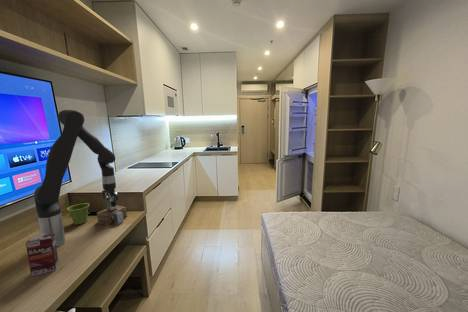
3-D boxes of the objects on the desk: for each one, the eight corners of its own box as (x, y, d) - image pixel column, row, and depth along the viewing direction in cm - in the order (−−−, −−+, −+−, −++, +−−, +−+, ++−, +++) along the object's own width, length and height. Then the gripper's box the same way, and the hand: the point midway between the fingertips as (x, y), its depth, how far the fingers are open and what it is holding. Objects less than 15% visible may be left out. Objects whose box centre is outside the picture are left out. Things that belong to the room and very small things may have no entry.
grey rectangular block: (118, 224, 132) (117, 214, 131) (114, 223, 134) (112, 213, 133) (123, 221, 136) (122, 212, 135) (119, 220, 138) (118, 211, 136)
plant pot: (94, 217, 142) (93, 202, 140) (85, 226, 130) (82, 209, 129) (76, 218, 140) (74, 203, 139) (64, 227, 129) (62, 210, 127)
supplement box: (30, 277, 87) (24, 243, 84) (35, 270, 91) (29, 237, 88) (56, 270, 91) (51, 237, 88) (59, 264, 95) (54, 232, 92)
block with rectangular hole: (107, 225, 131) (106, 215, 130) (98, 222, 135) (96, 212, 134) (126, 216, 144) (126, 207, 143) (117, 214, 148) (116, 205, 147)
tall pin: (112, 221, 137) (109, 201, 135) (108, 220, 138) (106, 200, 136) (117, 218, 140) (115, 199, 138) (113, 217, 142) (111, 198, 140)
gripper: (96, 182, 135) (99, 206, 137) (110, 184, 129) (113, 209, 132) (107, 179, 142) (109, 202, 144) (121, 181, 136) (123, 205, 138)
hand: (111, 205), depth 138 cm, fingers open, 5 cm apart
